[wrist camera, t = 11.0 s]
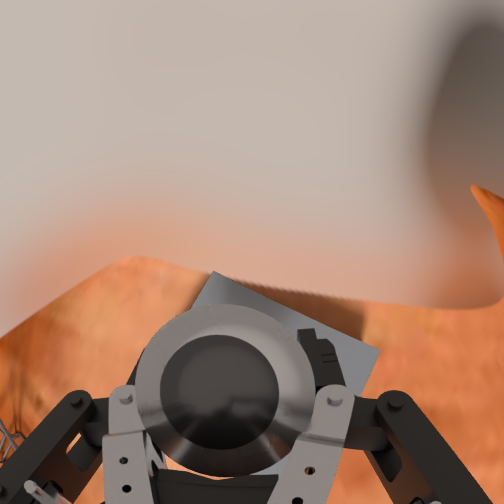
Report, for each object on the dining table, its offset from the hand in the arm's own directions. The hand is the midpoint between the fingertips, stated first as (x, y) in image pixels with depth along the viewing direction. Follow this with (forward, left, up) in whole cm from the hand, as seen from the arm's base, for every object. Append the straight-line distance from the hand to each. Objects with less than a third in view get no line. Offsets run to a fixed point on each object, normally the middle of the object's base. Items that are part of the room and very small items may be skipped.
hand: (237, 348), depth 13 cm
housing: (-1, +2, -4) cm, 5 cm away
